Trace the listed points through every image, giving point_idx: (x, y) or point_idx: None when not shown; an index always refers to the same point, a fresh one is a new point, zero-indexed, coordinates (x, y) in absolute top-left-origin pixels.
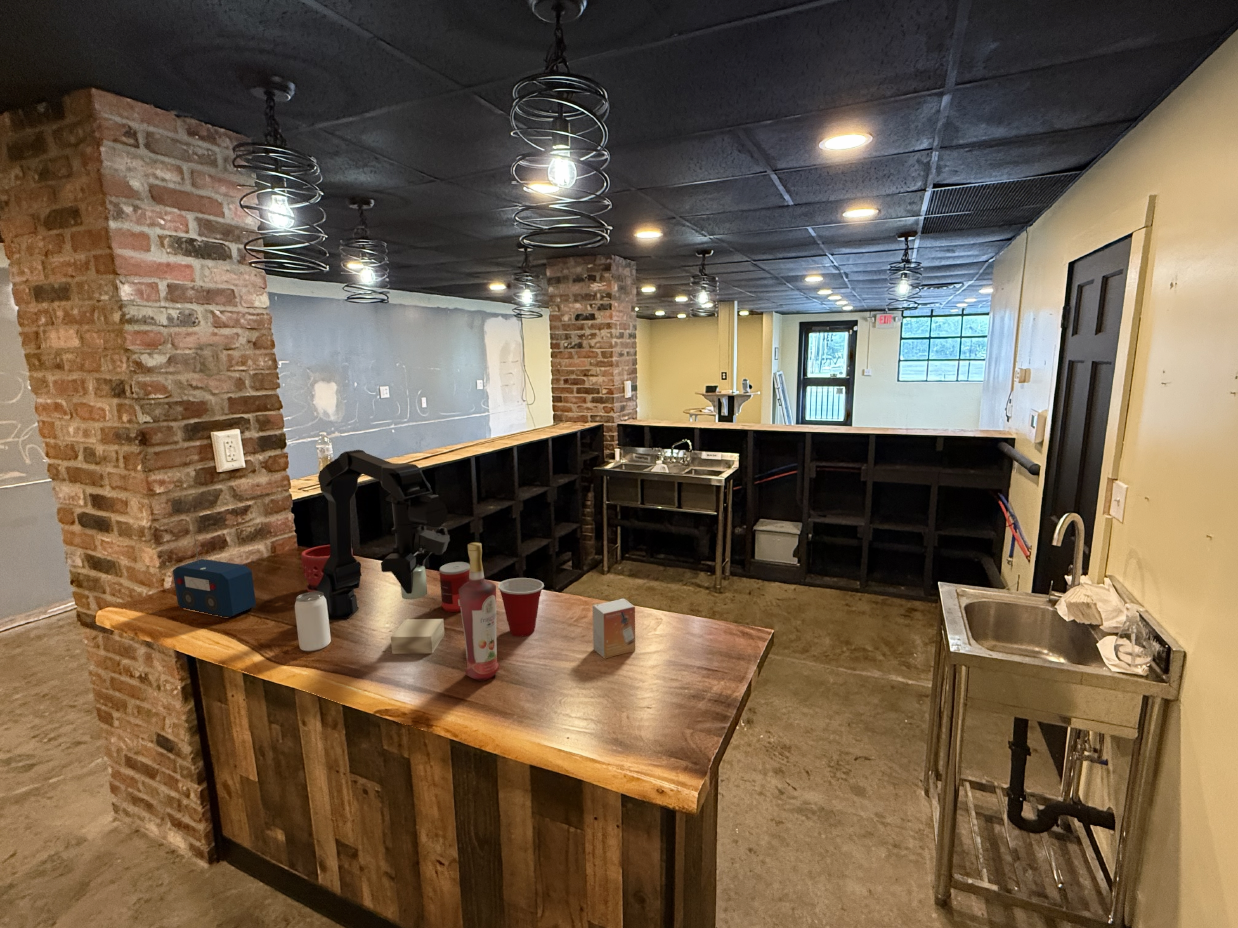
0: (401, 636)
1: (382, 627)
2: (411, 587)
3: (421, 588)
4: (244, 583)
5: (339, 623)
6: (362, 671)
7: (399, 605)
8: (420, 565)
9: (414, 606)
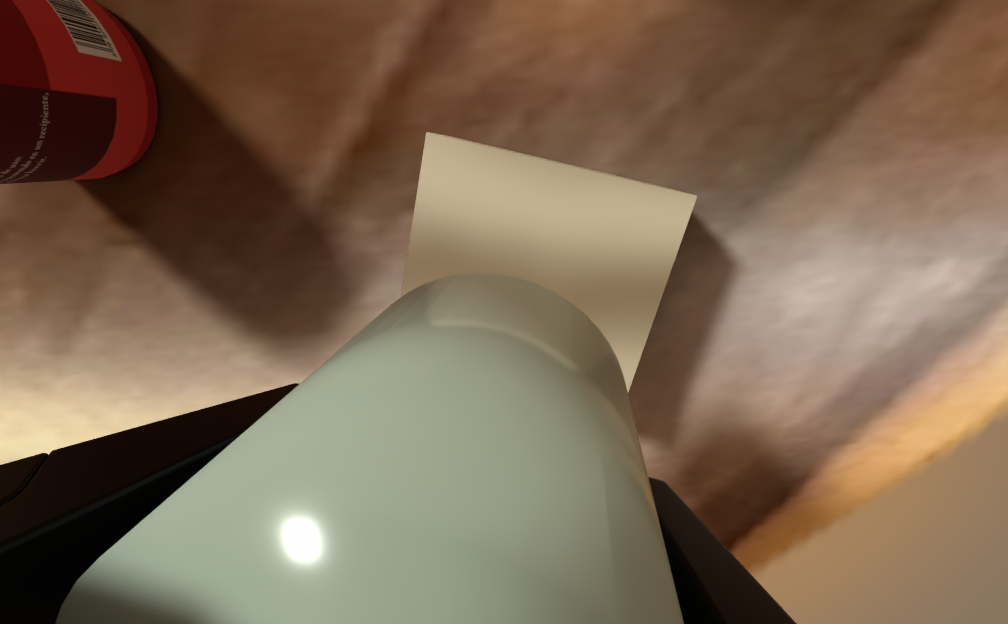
0: (627, 376)
1: None
2: (719, 542)
3: (597, 371)
4: None
5: None
6: (737, 483)
7: (83, 394)
8: (27, 589)
9: (91, 326)
